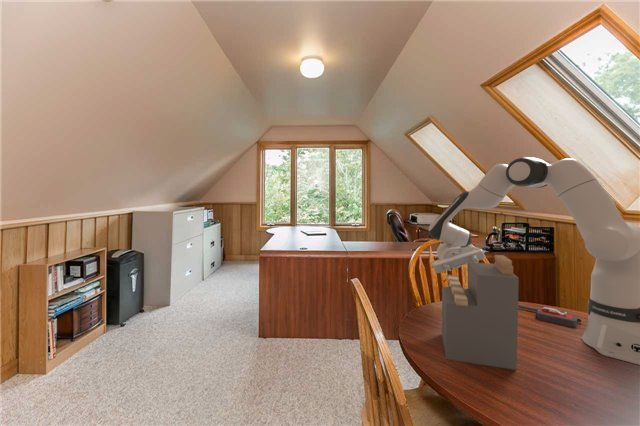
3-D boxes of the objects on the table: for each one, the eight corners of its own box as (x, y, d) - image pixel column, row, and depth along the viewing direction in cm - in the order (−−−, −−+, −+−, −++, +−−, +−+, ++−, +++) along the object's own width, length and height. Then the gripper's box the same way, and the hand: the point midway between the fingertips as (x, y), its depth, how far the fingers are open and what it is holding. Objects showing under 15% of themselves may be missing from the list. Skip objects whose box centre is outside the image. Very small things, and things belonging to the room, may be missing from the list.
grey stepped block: (441, 334, 101) (442, 250, 99) (500, 342, 95) (502, 253, 93) (446, 359, 86) (446, 260, 84) (516, 370, 80) (519, 264, 78)
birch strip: (447, 279, 108) (447, 274, 107) (456, 280, 107) (456, 275, 106) (456, 305, 83) (456, 298, 83) (467, 306, 82) (467, 299, 82)
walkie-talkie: (581, 322, 109) (518, 308, 123) (582, 310, 109) (518, 298, 123) (580, 330, 103) (514, 314, 117) (580, 318, 103) (514, 304, 117)
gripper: (427, 258, 127) (433, 265, 114) (474, 243, 124) (486, 248, 110) (432, 272, 127) (439, 280, 113) (479, 257, 123) (492, 264, 110)
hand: (463, 264), depth 112 cm, fingers open, 8 cm apart
